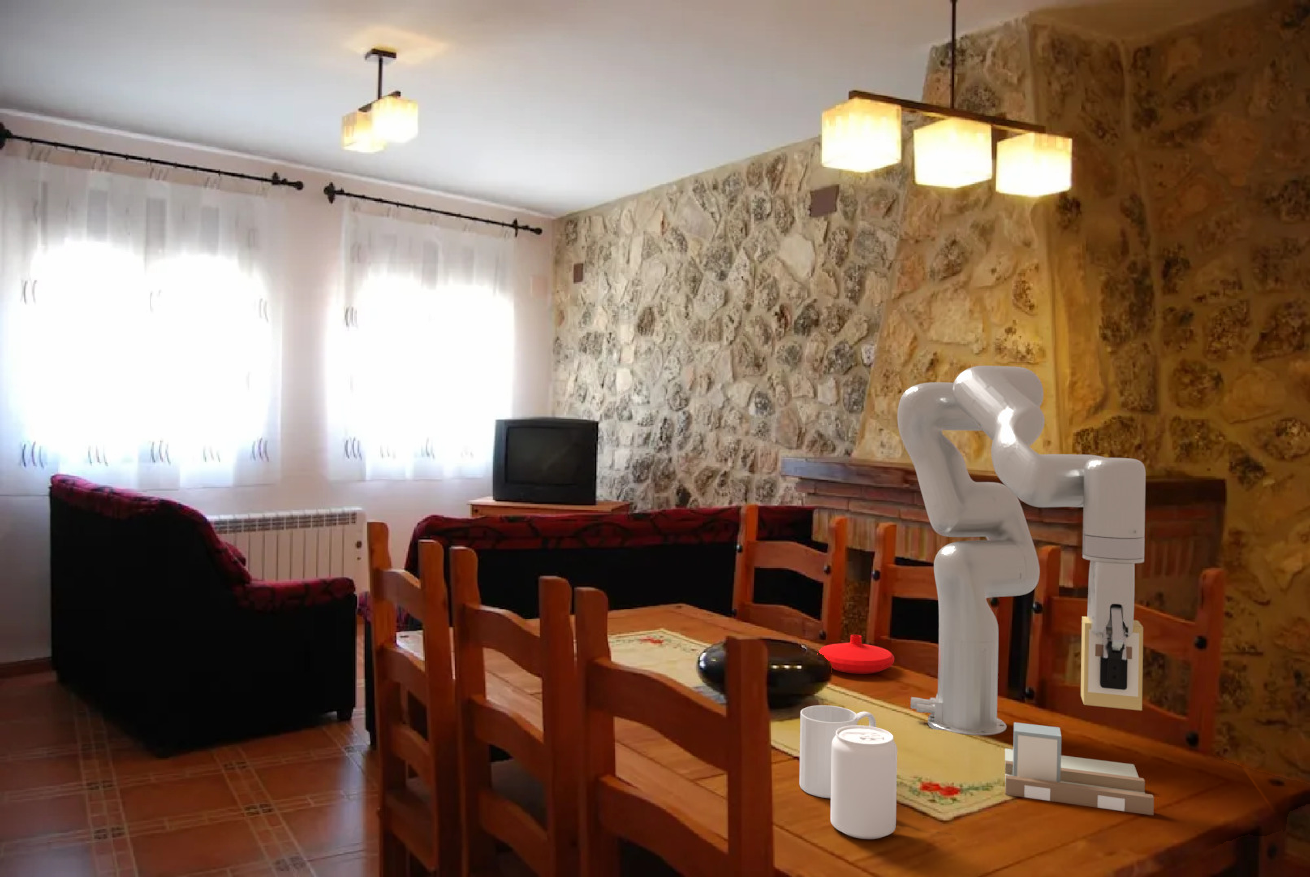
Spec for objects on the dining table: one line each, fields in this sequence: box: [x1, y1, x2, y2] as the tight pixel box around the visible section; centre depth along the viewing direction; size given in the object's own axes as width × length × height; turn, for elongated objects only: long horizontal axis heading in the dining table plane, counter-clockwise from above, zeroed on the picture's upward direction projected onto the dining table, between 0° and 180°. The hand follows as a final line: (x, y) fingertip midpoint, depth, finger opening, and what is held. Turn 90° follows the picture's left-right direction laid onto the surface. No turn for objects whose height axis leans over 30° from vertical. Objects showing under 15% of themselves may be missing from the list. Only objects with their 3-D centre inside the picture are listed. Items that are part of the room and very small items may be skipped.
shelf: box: [1004, 748, 1155, 816], centre depth 134 cm, size 18×19×3 cm
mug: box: [798, 704, 877, 799], centre depth 133 cm, size 12×8×10 cm, turn 118°
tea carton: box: [1080, 616, 1144, 712], centre depth 127 cm, size 7×5×11 cm
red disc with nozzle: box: [818, 634, 895, 675], centre depth 196 cm, size 16×16×7 cm
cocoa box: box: [1012, 721, 1062, 782], centre depth 131 cm, size 6×4×8 cm
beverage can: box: [830, 724, 898, 840], centre depth 119 cm, size 8×8×12 cm
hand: (1110, 681), depth 127 cm, fingers closed on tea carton, 5 cm apart
